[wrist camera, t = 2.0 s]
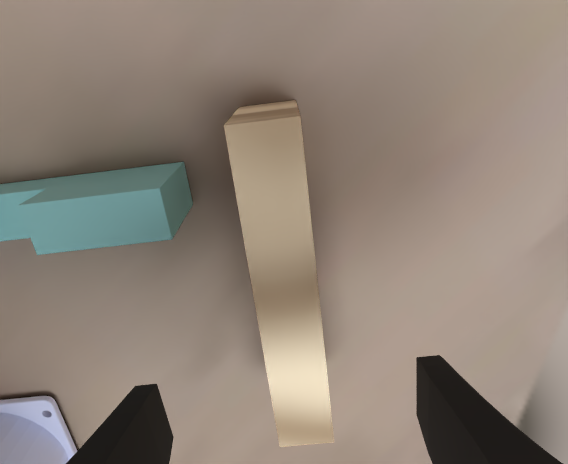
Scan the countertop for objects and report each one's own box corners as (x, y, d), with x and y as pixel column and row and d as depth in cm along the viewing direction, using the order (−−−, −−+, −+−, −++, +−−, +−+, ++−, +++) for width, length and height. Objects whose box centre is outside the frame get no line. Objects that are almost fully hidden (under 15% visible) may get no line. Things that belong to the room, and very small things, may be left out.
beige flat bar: (323, 364, 23) (334, 442, 18) (280, 368, 23) (279, 447, 18) (295, 99, 18) (300, 116, 13) (239, 107, 18) (223, 125, 13)
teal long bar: (193, 204, 19) (172, 239, 16) (-97, 238, 20) (-183, 280, 16) (183, 161, 19) (159, 188, 15) (-118, 198, 19) (-213, 232, 15)
